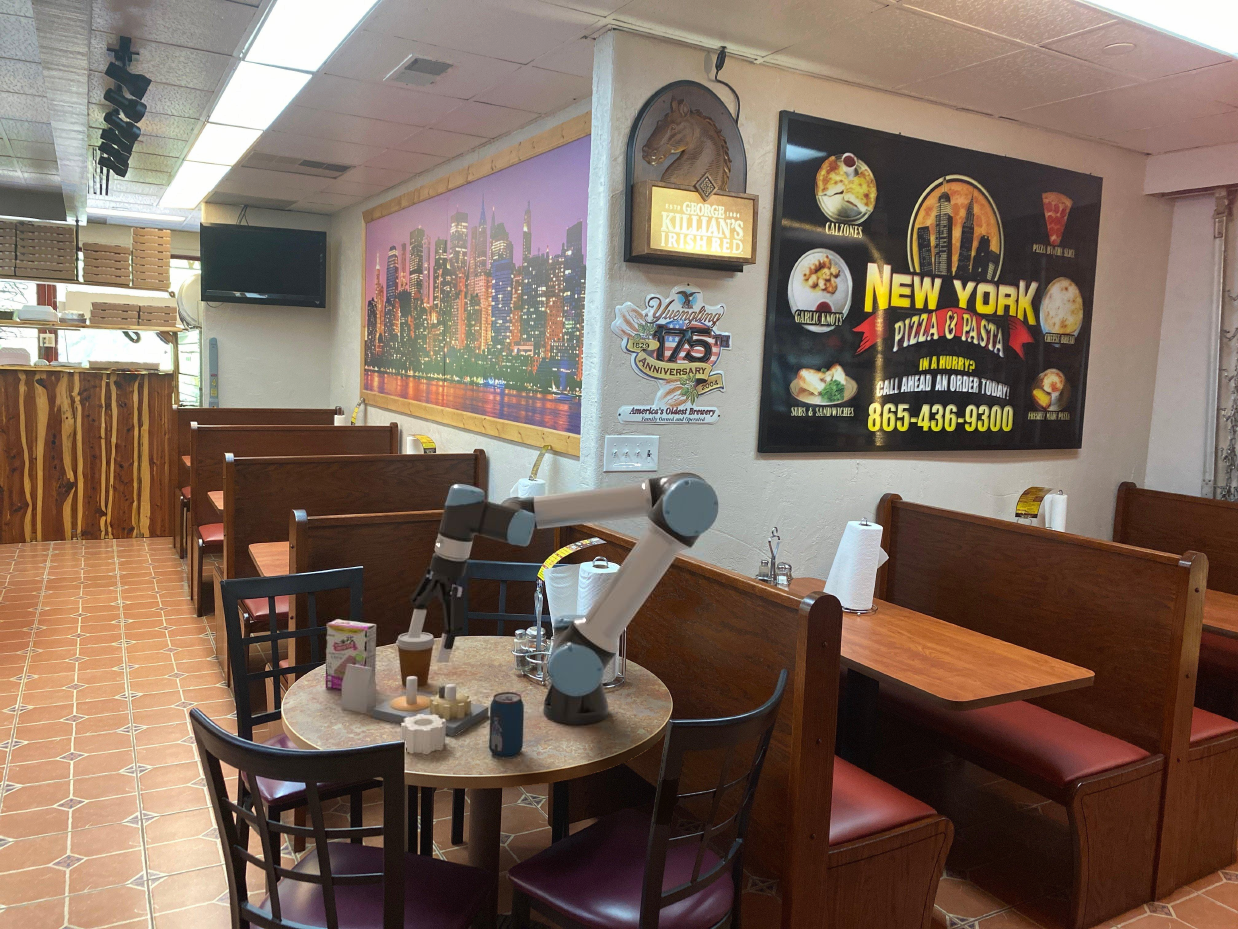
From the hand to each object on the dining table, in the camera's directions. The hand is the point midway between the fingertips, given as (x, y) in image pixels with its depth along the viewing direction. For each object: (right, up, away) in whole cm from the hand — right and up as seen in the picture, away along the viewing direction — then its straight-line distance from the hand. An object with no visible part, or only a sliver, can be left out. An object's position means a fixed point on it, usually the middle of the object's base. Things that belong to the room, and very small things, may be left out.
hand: (427, 649), depth 191 cm
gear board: (-1, -17, +10) cm, 20 cm away
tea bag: (-19, -17, +13) cm, 28 cm away
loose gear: (0, -19, -6) cm, 20 cm away
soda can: (+18, -20, -8) cm, 28 cm away
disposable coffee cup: (-10, -15, +31) cm, 36 cm away
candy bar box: (-24, -15, +25) cm, 38 cm away
